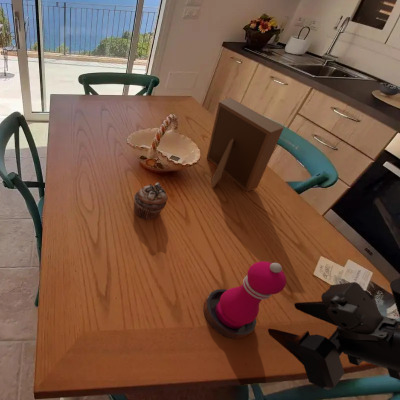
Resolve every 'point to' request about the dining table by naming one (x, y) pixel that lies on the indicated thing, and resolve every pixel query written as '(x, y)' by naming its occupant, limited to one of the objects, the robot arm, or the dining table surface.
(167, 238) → the dining table surface
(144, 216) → the cupcake
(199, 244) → the dining table surface
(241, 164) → the photo frame
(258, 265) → the pepper mill
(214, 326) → the tray
